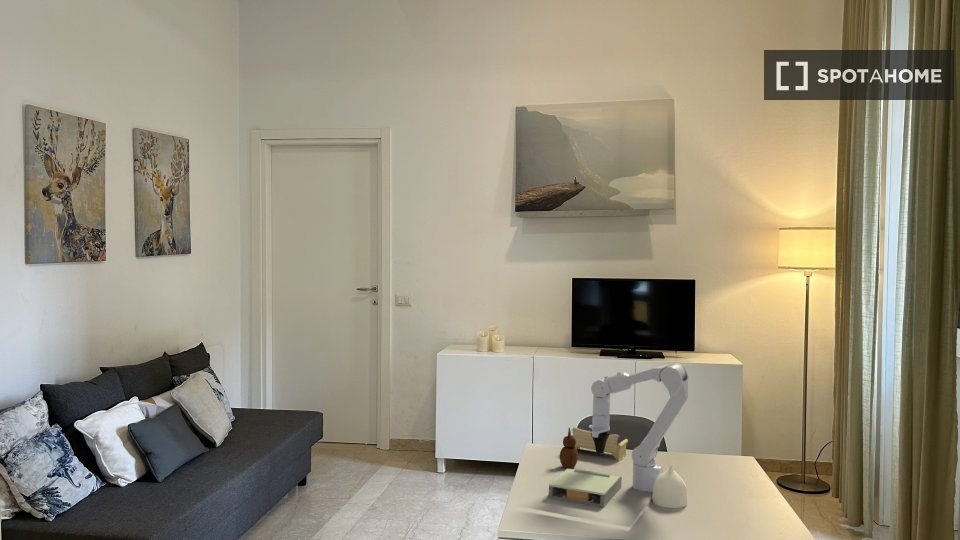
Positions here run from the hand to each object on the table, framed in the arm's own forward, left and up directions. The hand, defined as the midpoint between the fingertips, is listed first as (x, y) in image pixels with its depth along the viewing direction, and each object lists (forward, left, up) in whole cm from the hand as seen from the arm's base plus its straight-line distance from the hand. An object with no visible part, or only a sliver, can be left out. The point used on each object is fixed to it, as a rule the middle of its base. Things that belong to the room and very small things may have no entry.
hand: (599, 453), depth 261 cm
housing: (0, +16, -10) cm, 18 cm away
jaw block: (0, +22, -9) cm, 24 cm away
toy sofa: (+10, -33, -10) cm, 36 cm away
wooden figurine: (+14, -11, -10) cm, 21 cm away
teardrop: (-26, +8, -10) cm, 29 cm away
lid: (0, +17, -5) cm, 17 cm away
